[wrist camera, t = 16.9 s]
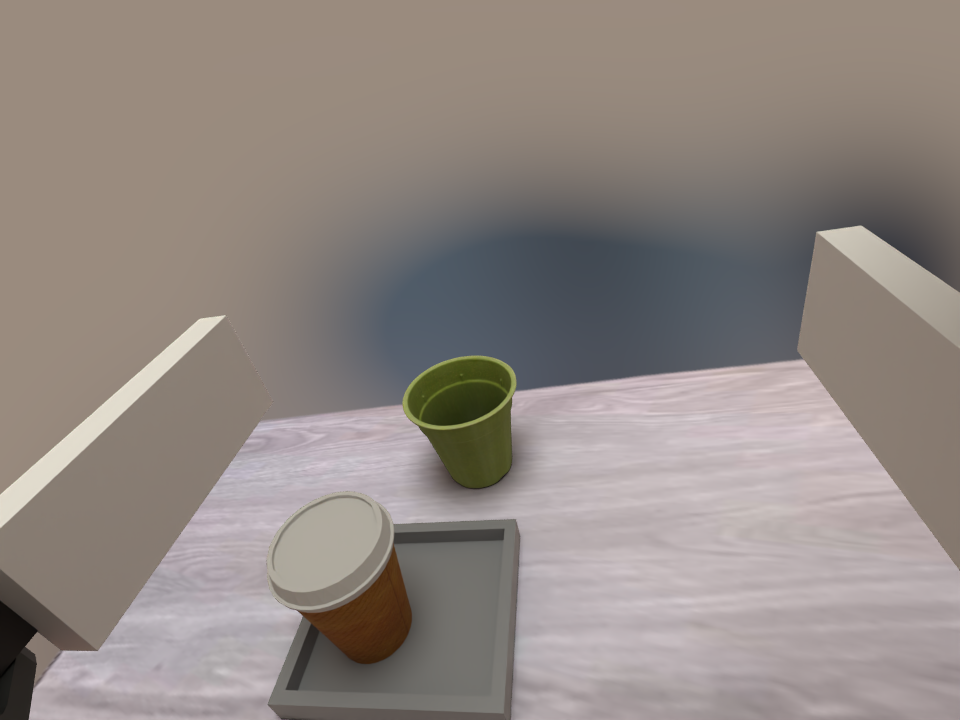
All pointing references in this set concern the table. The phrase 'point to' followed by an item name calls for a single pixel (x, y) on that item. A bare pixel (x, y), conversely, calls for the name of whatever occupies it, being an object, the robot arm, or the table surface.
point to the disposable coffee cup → (343, 574)
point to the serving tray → (423, 637)
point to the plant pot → (466, 416)
